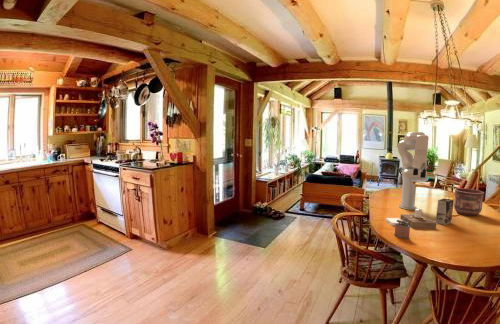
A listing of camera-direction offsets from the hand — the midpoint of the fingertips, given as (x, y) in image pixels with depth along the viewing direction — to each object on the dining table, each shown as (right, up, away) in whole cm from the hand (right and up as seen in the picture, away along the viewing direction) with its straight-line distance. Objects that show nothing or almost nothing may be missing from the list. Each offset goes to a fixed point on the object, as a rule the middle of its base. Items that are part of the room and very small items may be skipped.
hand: (419, 176), depth 195 cm
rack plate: (-8, -32, -11) cm, 34 cm away
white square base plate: (-22, -32, -10) cm, 40 cm away
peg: (-8, -32, -11) cm, 34 cm away
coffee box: (+12, -32, -8) cm, 35 cm away
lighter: (-31, -35, -33) cm, 57 cm away
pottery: (+45, -29, +13) cm, 55 cm away
